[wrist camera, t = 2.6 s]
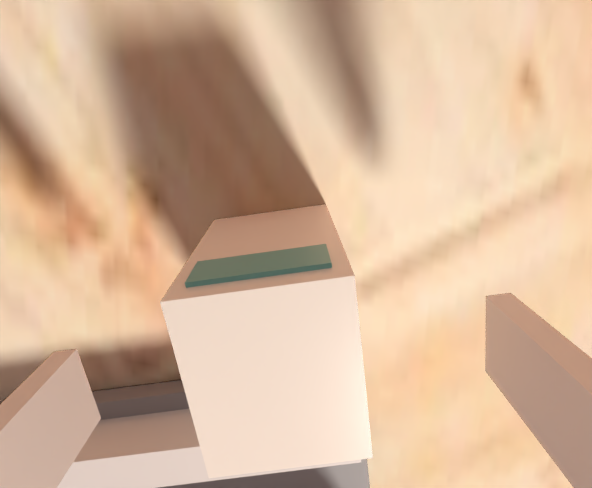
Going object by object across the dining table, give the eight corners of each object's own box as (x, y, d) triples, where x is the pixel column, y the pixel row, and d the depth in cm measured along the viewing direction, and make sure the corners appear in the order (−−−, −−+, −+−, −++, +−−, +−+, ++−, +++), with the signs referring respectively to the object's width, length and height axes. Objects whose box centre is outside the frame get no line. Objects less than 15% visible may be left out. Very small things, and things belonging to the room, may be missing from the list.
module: (213, 216, 18) (158, 296, 10) (325, 200, 18) (353, 269, 10) (238, 336, 20) (208, 478, 12) (339, 322, 20) (372, 457, 12)
